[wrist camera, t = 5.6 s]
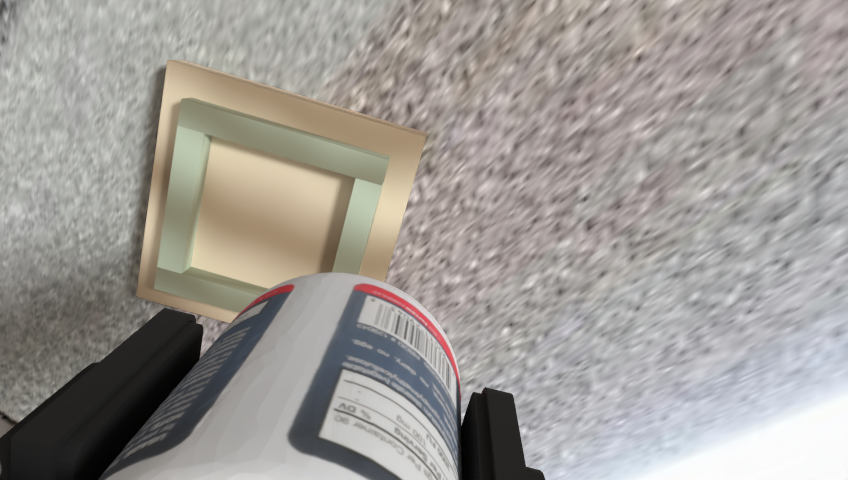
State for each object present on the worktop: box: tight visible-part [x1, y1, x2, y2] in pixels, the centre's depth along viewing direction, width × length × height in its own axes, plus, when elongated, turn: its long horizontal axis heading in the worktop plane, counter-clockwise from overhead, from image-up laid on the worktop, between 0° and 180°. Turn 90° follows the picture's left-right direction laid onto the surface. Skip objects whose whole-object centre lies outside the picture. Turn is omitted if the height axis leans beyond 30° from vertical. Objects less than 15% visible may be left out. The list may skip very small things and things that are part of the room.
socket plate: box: [136, 60, 427, 323], centre depth 27 cm, size 12×12×2 cm
